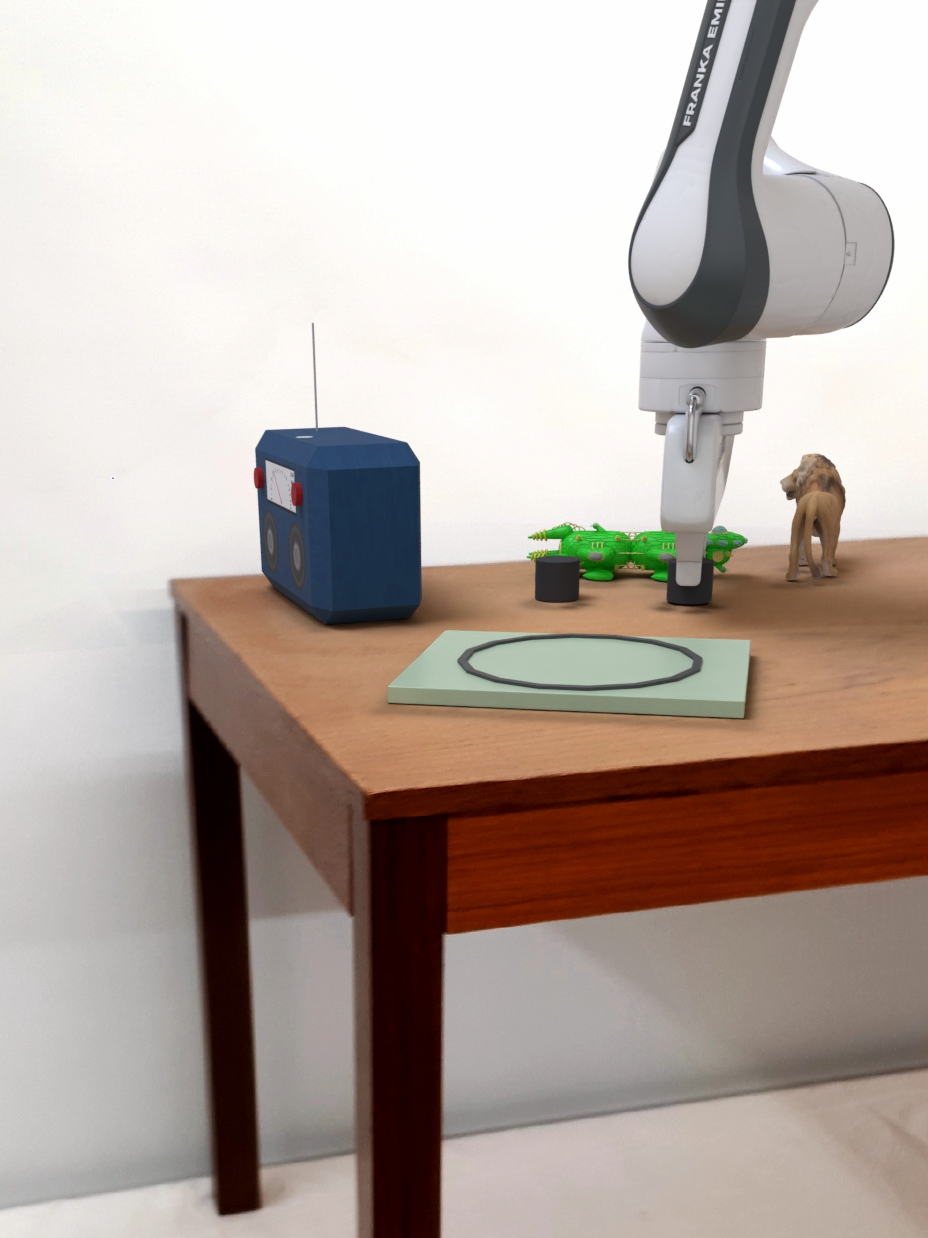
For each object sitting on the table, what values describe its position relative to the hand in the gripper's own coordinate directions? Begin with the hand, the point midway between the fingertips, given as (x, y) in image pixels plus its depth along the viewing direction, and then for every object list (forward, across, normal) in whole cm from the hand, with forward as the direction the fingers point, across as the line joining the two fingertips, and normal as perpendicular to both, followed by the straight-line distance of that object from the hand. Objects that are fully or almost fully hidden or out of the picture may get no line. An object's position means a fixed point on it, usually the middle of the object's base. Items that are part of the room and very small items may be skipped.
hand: (690, 579), depth 111 cm
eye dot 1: (+2, 0, +10) cm, 10 cm away
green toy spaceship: (+2, +11, +5) cm, 12 cm away
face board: (+2, -26, +5) cm, 27 cm away
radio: (+2, -4, +27) cm, 27 cm away
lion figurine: (+2, +16, -9) cm, 18 cm away
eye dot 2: (+2, 0, 0) cm, 2 cm away
